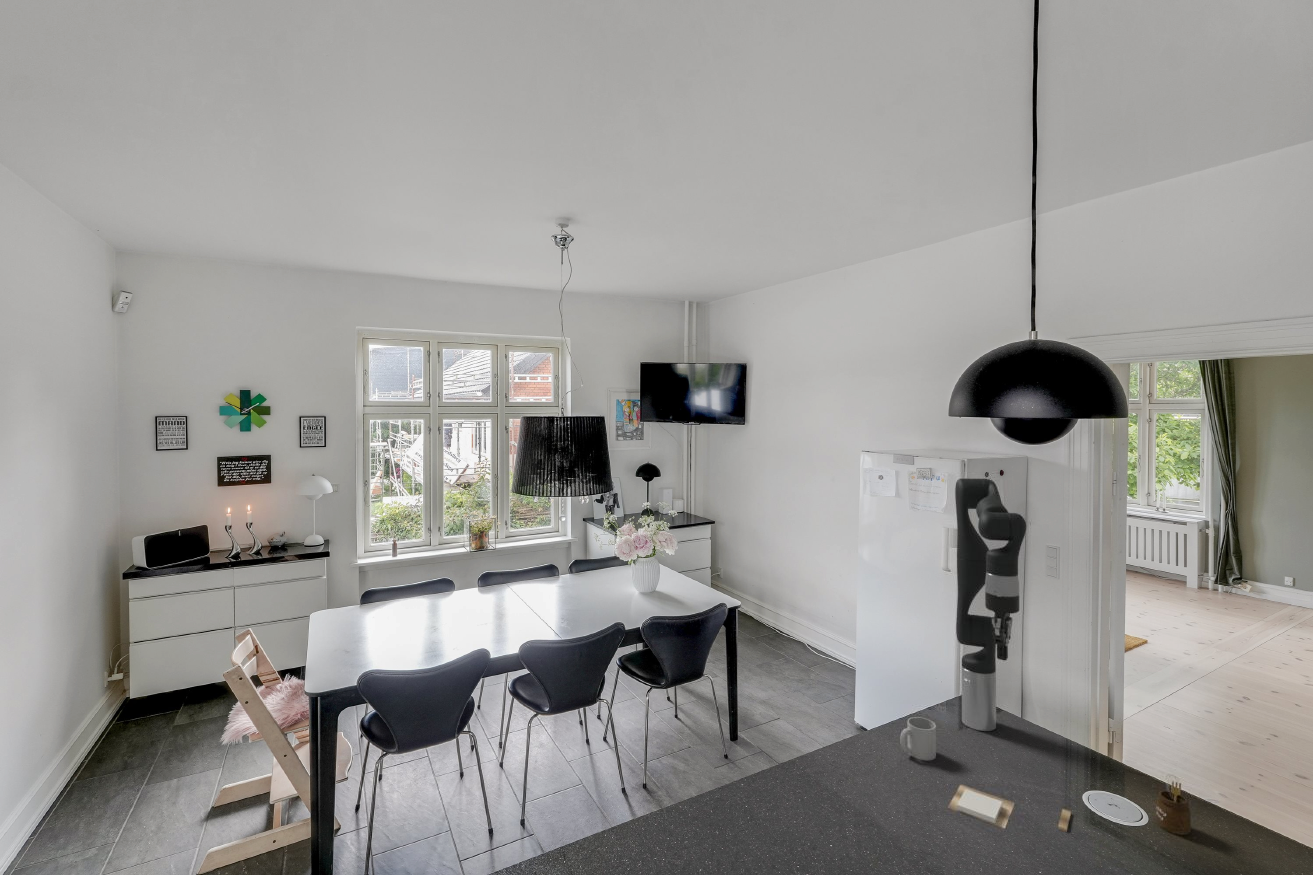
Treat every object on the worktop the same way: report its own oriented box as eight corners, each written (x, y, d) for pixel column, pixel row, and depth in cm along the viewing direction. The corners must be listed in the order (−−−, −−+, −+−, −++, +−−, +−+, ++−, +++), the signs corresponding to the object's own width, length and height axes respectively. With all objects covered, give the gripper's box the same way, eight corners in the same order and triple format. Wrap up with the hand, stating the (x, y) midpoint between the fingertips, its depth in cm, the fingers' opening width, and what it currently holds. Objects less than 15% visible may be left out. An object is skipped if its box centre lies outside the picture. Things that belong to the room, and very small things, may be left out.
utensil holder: (1187, 823, 137) (1187, 771, 137) (1194, 840, 132) (1194, 786, 132) (1153, 815, 140) (1153, 764, 140) (1159, 831, 135) (1159, 778, 135)
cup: (941, 760, 164) (941, 728, 164) (908, 764, 163) (908, 731, 163) (925, 746, 172) (925, 715, 171) (893, 750, 170) (893, 719, 170)
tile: (965, 788, 148) (956, 804, 142) (1002, 801, 143) (995, 818, 137) (965, 794, 148) (956, 810, 142) (1002, 806, 143) (995, 824, 137)
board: (960, 786, 153) (960, 784, 153) (1015, 804, 145) (1015, 802, 145) (947, 809, 143) (947, 807, 143) (1004, 830, 136) (1004, 828, 136)
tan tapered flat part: (1055, 811, 142) (1055, 806, 142) (1078, 818, 140) (1078, 813, 140) (1047, 840, 132) (1047, 835, 132) (1071, 849, 130) (1071, 843, 130)
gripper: (991, 583, 160) (991, 648, 161) (979, 594, 150) (979, 663, 150) (1023, 588, 155) (1024, 654, 156) (1013, 599, 145) (1014, 670, 146)
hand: (1002, 658), depth 153 cm, fingers closed
